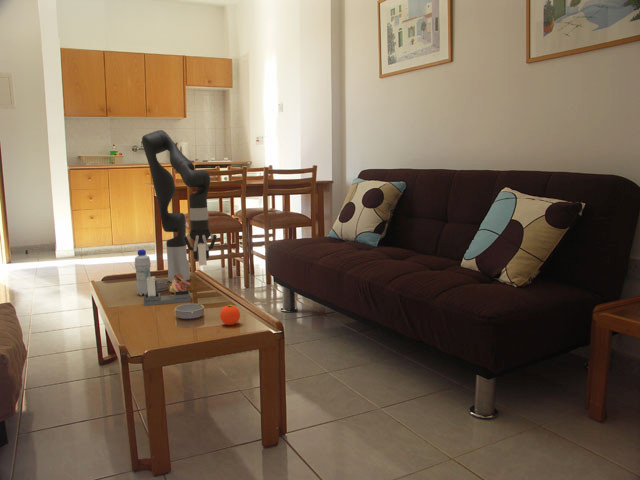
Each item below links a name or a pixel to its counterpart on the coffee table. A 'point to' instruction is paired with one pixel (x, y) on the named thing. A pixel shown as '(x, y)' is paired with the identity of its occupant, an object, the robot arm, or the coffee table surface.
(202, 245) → the block
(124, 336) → the coffee table surface
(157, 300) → the grey boxy piece
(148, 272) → the bottle
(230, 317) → the clementine
